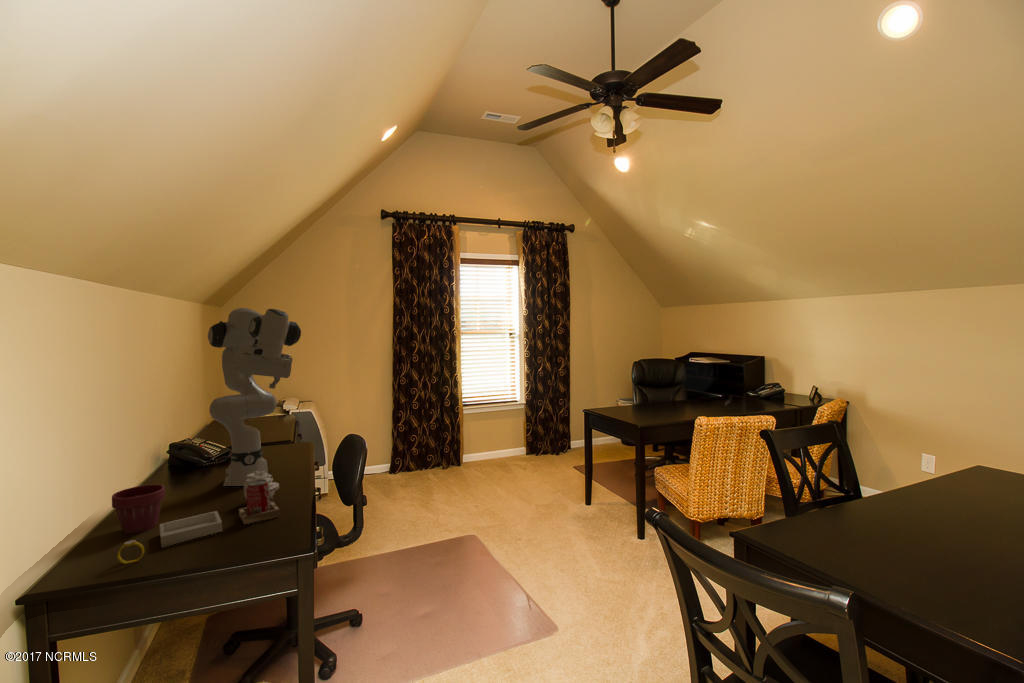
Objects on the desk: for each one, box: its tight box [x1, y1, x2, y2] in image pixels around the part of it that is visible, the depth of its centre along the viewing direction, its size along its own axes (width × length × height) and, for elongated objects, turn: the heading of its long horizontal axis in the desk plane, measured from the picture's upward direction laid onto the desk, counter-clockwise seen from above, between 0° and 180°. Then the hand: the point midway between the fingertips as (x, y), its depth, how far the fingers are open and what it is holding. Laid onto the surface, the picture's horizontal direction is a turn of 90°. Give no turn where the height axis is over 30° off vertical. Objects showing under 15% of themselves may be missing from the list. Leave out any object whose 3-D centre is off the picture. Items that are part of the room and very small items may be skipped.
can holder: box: [238, 500, 281, 526], centre depth 165 cm, size 11×11×2 cm
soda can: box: [246, 480, 271, 516], centre depth 165 cm, size 7×7×12 cm
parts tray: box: [159, 510, 223, 549], centre depth 153 cm, size 13×16×4 cm
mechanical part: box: [243, 471, 280, 500], centre depth 181 cm, size 11×12×12 cm
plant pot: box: [111, 483, 166, 534], centre depth 159 cm, size 14×14×13 cm
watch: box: [116, 539, 145, 565], centre depth 134 cm, size 6×3×6 cm, turn 116°
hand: (260, 387), depth 176 cm, fingers open, 8 cm apart
